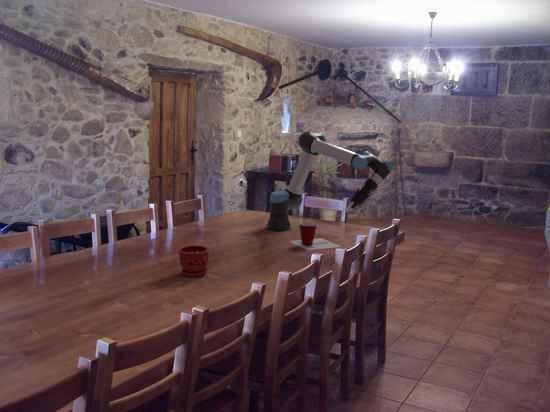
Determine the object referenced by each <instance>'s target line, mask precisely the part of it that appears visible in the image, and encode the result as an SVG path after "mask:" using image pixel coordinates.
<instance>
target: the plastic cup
mask: <svg viewBox="0 0 550 412" xmlns="http://www.w3.org/2000/svg"><path fill="white" fill-rule="evenodd" d="M298 226H299V230H300V231H299V232H300V240H302V245H312V244H313V239H315V235H316V231H317V227H318V224H317V223H313V222H312V223H311V222H299V223H298Z"/></svg>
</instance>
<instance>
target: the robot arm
mask: <svg viewBox="0 0 550 412" xmlns="http://www.w3.org/2000/svg"><path fill="white" fill-rule="evenodd" d="M298 146H299V148H300V149H301V151H302V152H301V155H300V157H299V160H298V162H297V164H296V167H295V170H294V172H293V175H292V177H291V179H290V182H289V184H288V185H286V186H285V189H284V190H275V191H273V192H271V193H270V196H269V218H268V219H267V222H266V223H267V224H266V229H267V230H269V231H273V232H274V231H276V232H285V231H290V230H291V222H290V218H289V211H291V210H294V209H295V210H296V209H297V208H298V207H300V206H301V205H302V203H303V194H304V192H303V191H302V190H303V187H304V185H305V182H306V180H307V178H308V176H309V173H310V170H311V168H312V166H313V163H314V160H315V158H316V157H318V156H319V155H322V156H325V157H328V158H330V159H333V160H336V161H339V162H341V163H344V164H347V165H349V166H352V167H353V168H354V169H356V170H364V169H370V170H372V171H373V172H372V173H371V174H370V175H369V177H368V178H367V179H366V180H365V181H364V184H363V186H362V187H360V188H359V187H358V188H357V190H356V191H355V193H354V194H353V196H352V198H351V199H350V201H351V203H350V204H349V205H348V206H347V207H345V209H344V211H345V212H346V213H347V214H350V213H351V212H352V211H353V209H354V208H356V206H358V205H359V206H360V205H361V204H363V203H364V202H365V201H366V200H368V199H369V198H370V197H371V196H372V195H373V193H372V192H374V191H376V190H377V188H378V187H379V186H380V185H381V184H382V183H383V181H384V180H385V179H387V177H388V176H389V175H390V174H391V173H392V171H393V170H394V169H395V168H394V167H395V166H394V164H393V163H392V161H390V160H388V159H384V160H381V159H379V158H378V157H376V156H375V155H374V154H372V153H371V152H369V151H364V152H363V153H362V154H360V153H356V152H354V151H351V150H349V149H345V148H343V147H339V146H338V145H334V144H331V143H329V142H327V138H326V136H325V134H324V133H323V132H321V131H317V130H313V131H312V130H311V131H304V132H302V133H300V135H299V137H298Z"/></svg>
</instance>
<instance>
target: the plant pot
mask: <svg viewBox="0 0 550 412" xmlns="http://www.w3.org/2000/svg"><path fill="white" fill-rule="evenodd" d="M178 253H179V255H178V256H179V263H180V266H181V268H182V269H181V273H182V274H183V276H186V277H189V278H190V277H192V278H193V277H195V278H196V277H202V276H205V274H207V273H208V268H207V267H208V264H209V258H210V256H209V255H210V252H209V247H207V246H204V245H185V246H182V247H181V248H179V251H178Z"/></svg>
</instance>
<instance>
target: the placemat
mask: <svg viewBox="0 0 550 412" xmlns="http://www.w3.org/2000/svg"><path fill="white" fill-rule="evenodd" d="M288 242H289V243H290V244H293V245H295V246H297V247H299V248H301V249H304V250H306V251H312V250H313V251H314V250H324V249H325V250H326V249H335V248H342V246H341V245H338V244H336V243H333V242H331V241H329V240H326V239H325V238H322V237H321V238H314V239H313V244H312V245H302V240H301V239H299V240H298V239H297V240H288Z"/></svg>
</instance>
